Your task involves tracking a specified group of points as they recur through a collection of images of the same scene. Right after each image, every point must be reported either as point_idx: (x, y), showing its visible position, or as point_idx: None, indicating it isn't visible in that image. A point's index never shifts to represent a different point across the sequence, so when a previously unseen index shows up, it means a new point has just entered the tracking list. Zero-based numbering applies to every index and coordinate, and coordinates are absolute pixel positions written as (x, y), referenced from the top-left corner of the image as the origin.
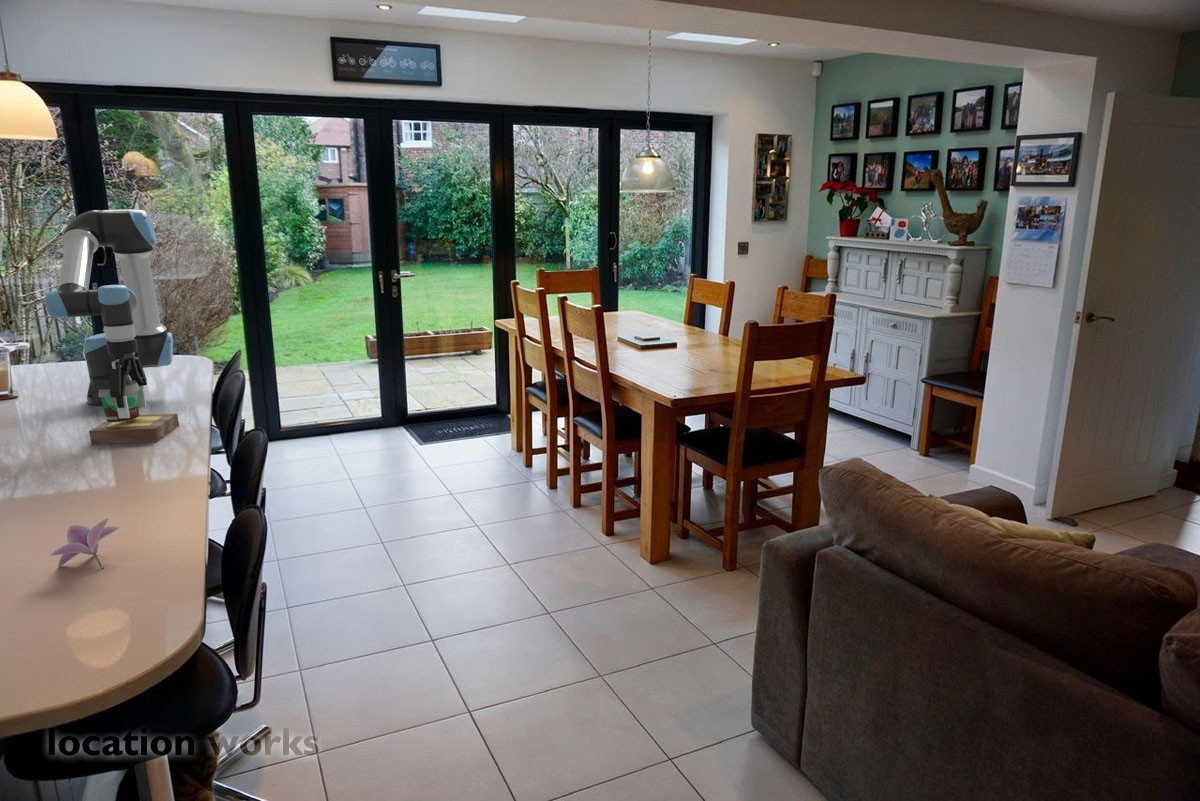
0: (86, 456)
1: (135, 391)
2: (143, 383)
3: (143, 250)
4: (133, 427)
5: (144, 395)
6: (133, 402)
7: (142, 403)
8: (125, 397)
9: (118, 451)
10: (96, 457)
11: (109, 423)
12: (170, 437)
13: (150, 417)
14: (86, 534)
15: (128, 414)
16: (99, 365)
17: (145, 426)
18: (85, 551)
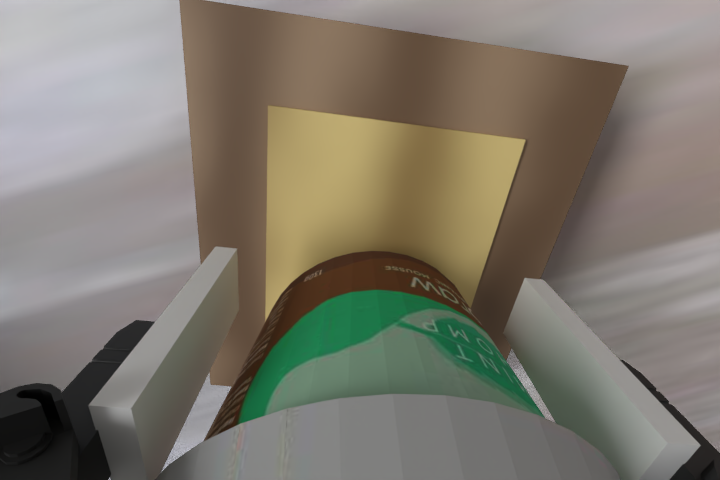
0: (640, 324)
1: (503, 411)
2: (36, 445)
3: None
4: (518, 229)
5: (181, 311)
6: (455, 332)
7: (227, 286)
8: (685, 429)
9: (642, 227)
10: (682, 287)
11: None
12: (500, 4)
13: (301, 187)
14: None
15: (552, 295)
16: None
17: (526, 160)
18: None
